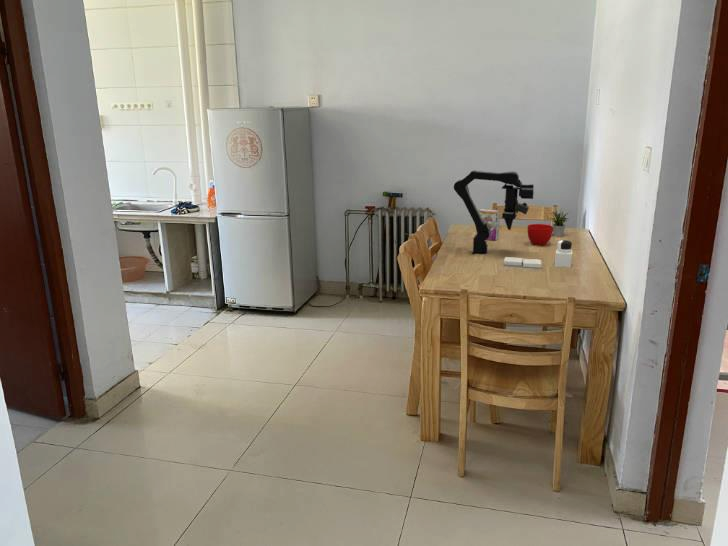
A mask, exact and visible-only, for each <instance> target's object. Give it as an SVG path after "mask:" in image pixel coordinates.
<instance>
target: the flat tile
mask: <svg viewBox="0 0 728 546" xmlns="http://www.w3.org/2000/svg"><path fill="white" fill-rule="evenodd" d="M542 266H543V265H542V260H541V259H536V258H535V259H531V258H523V267H524V268H523V269H531V268H540V269H542Z"/></svg>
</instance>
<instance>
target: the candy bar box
mask: <svg viewBox="0 0 728 546" xmlns="http://www.w3.org/2000/svg"><path fill="white" fill-rule="evenodd" d="M477 210H478V209H477ZM478 212H479V214H480V216H481V218H482V220H483V221H484V222H485V223H486V222H488V224H489V226H490V228H491V234H490V236H489V238H488V239H486V240H485V241H492V242H496V241H498V240H499V232H500V216H501V210H492V209H484V208H480V209H479V210H478Z"/></svg>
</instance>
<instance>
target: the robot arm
mask: <svg viewBox="0 0 728 546" xmlns="http://www.w3.org/2000/svg"><path fill="white" fill-rule="evenodd" d="M475 180H481V181H482V180H483V181H494V182H499V183H500V182H501V183H502V184H504V185H502V186H501V189H503V190H505V196H504V199H505V200H504V209H503V210H504V211H503V212H502V214H501V218H502V219H504V222H505V224H506V228H507V229H508V231H511V229H512V225H513V221H514V220H516V218H517V216H518V215H517V214H519V212H520V213H522V214H523V215H527V213H528V211H529V209H530V207H529V206H528V203H526V202H523V203H520V202H519V199H518V197H520V198H521V199H524V200H525V199H527V200H533V199H534V193H535V191H534V186H535V185H534V184H523V183H522V180H520V175H519V173H518V172H517V171H505V172H495V171H494V172H491V171H490V172H489V171H481V170H479V171H478V170H472V171H470V172H469V174H467V175H466V176H465V177H464V178H463V179H459V180H457V181H455V183H454V184H453V190H454V191H455V193H456V194H457V195H458V196H459V198H460V199H461V200H462V201H463V203H464V205H465V207H466V209H467V211H468V213H469V216H470V217H471V219H472V221H473V223H474V225H475V230H476V234H475V236H474V237H473V239H472V240H473V241H472V242H473V244H472V253H471V254H472V255H475V254H478V255H486V254H488V245H489V244H488V242H487V241H488V240H486V239H488V238H489V236H490V234H491V228H490V226H489V224H488V222H486V223H485V222H484V221H483V220H482V218H481V216H480V214H479V212H478V208H477V206H476V204H475V203H474V200H473V198H472V197H471V193H470V189H469V184H471V182H472V183H473V181H475Z"/></svg>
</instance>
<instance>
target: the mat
mask: <svg viewBox="0 0 728 546" xmlns="http://www.w3.org/2000/svg"><path fill="white" fill-rule="evenodd" d="M503 267H505V268H506V267H507V268H518V269H519V268H520V269H525V268H524V267H523V263H522V266H521V267H520V266H506V265H504V264H503ZM530 269H532V270H533V269H534V270H535V269H536V270H540V269H541V268H530Z"/></svg>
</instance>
